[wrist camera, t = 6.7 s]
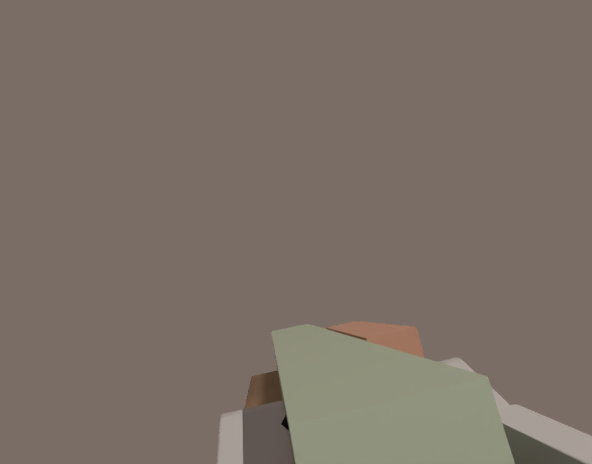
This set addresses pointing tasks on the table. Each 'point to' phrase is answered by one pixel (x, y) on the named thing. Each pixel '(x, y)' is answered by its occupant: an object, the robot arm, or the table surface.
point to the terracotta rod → (384, 335)
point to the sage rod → (382, 404)
